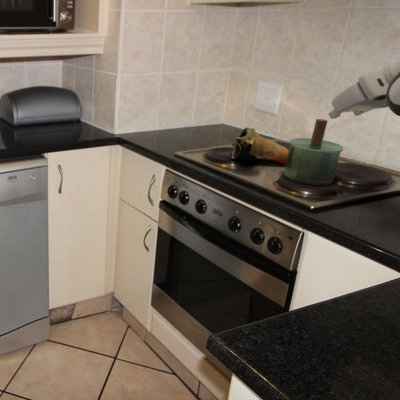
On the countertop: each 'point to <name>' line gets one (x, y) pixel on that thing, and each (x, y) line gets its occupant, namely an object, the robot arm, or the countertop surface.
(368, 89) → the robot arm
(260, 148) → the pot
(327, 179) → the tin
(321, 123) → the tin lid
